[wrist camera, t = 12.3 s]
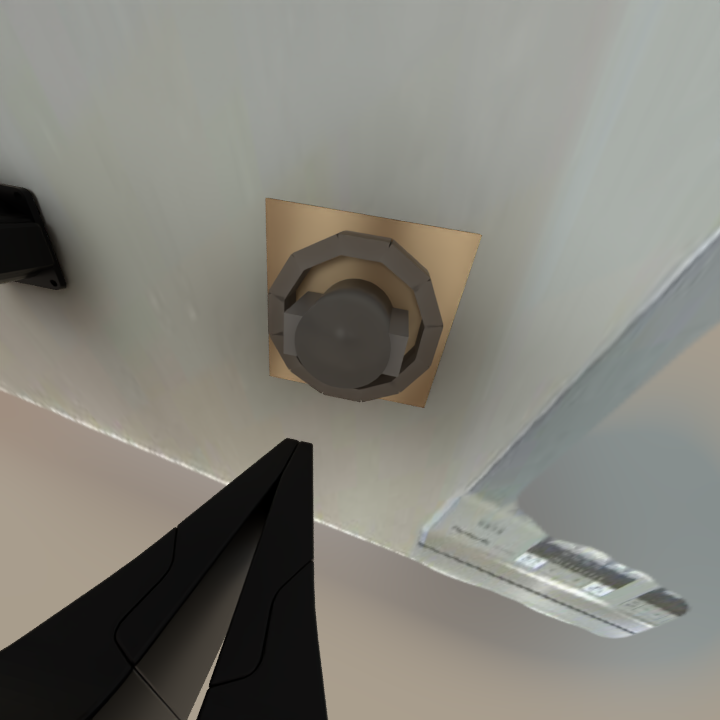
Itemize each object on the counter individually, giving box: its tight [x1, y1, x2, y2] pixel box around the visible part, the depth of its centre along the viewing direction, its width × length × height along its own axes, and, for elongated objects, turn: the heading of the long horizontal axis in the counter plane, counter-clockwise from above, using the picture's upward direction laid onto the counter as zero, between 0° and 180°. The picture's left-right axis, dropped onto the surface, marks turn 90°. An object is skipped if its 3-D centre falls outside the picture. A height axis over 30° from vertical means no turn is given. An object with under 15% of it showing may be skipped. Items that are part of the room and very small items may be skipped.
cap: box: [283, 278, 409, 389], centre depth 16 cm, size 6×5×4 cm
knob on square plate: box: [266, 198, 482, 408], centre depth 18 cm, size 12×12×3 cm
